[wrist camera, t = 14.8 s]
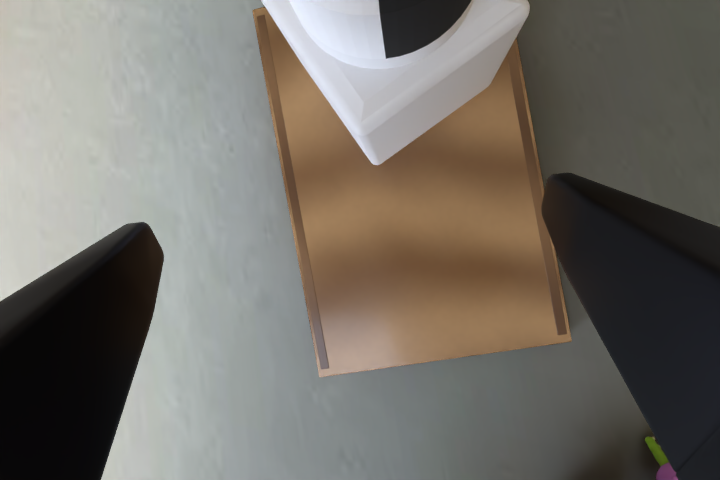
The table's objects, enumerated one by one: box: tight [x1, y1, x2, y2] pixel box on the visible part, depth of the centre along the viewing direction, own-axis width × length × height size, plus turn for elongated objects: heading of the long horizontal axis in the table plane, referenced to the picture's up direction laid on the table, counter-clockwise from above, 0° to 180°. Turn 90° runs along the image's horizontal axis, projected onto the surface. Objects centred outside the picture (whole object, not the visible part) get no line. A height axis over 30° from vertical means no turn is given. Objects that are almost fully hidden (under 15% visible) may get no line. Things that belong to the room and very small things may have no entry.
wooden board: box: [253, 7, 572, 377], centre depth 21 cm, size 20×13×1 cm, turn 11°
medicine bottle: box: [261, 0, 530, 165], centre depth 15 cm, size 7×7×12 cm
